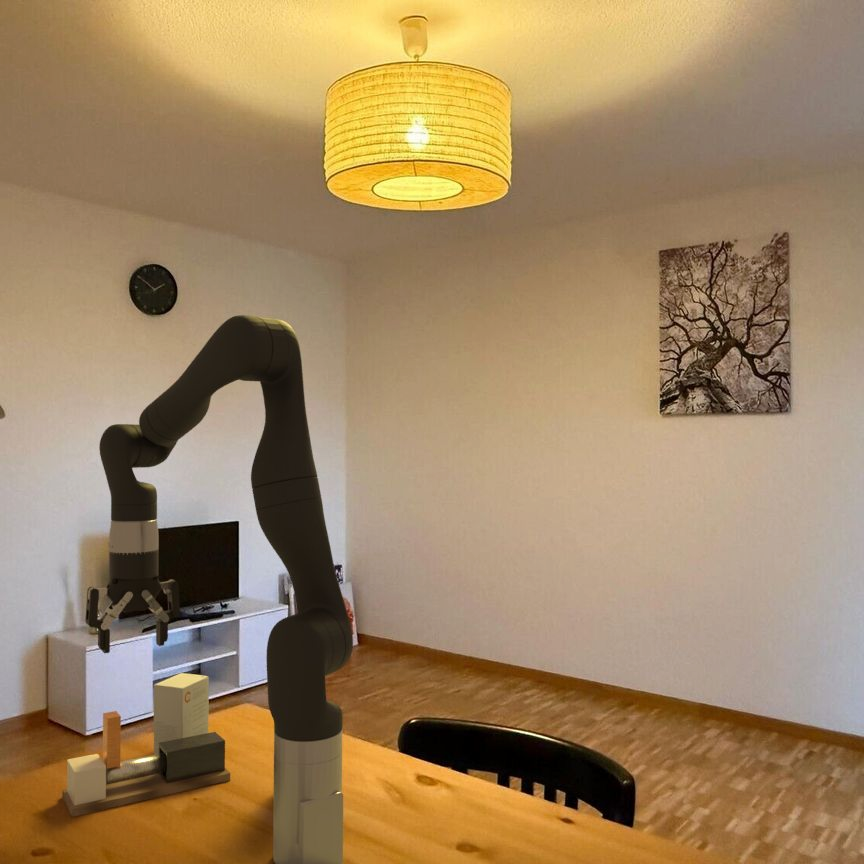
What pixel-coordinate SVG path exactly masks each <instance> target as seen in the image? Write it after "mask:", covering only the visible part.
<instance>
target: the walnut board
mask: <svg viewBox="0 0 864 864" xmlns="http://www.w3.org/2000/svg"><path fill="white" fill-rule="evenodd" d="M228 781H231V772H229V770H228V769H227V768H226V767H225V771H221V772H216V773H212V774H207V775H203V776H198V777H194V778H189V779H185V780H180V781H176V782H171V783H166V782H165V781H164V779H163V778H162V777H161V776H160V774H154V775H150V776H145V777H141V778H136V779H131V780H127V781H122V782H118V783H113V784H108V785H106V799H102V800H97V801H93V802H88V803H84V804H79V805H75V806H74V804H73V802H72V800H71V798H70V796H69V794H68V792H67V788H66V789H62V790H61V791H62V792H61V795H62V796H61V797H62V800H63V802H64V803H65V805H66V808H67V810H68V812H69V814H70V815H71V817H72V818H73V816H74V817H78V816H82V814H83V815H86V814H91V813H96V812H100V811H103V809H104V810H109V809H112V808H111V807H113V808H115V806H117V807H120V806H119V805H121V806H125V804H126V805H129V803H130V804H134V803H138V801H139V802H142V800H143V801H146V800H151V799H155V797H156V798H160V797H164V795H165V796H169V795H172V794H177V792H178V793H181V792H186V791H190V790H196V789H199V788H204V787H207V786H211V785H215V784H220V783H225V782H228ZM168 794H169V795H168ZM108 808H109V809H108ZM99 810H100V811H99ZM95 811H96V812H95Z"/></svg>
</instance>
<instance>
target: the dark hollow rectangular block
mask: <svg viewBox="0 0 864 864" xmlns="http://www.w3.org/2000/svg"><path fill="white" fill-rule="evenodd" d="M160 753H165V754H166V772H164V773H159V774H160V776H161V777H162V778H163V779H164V781H165V782H166V783H171V782H176V781H180V780H185V779H189V778H194V777H198V776H203V775H207V774H212V773H216V772H221V771H225V768H226V740H225V739H224V738H222V736H221V735H219V734H218V733H217V732H216V731H212V732H209V733H206V734H201V735H196V736H191V737H186V738H181V739H175V740H170V741H165V742H160V743H159V753H158V754H160Z"/></svg>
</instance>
